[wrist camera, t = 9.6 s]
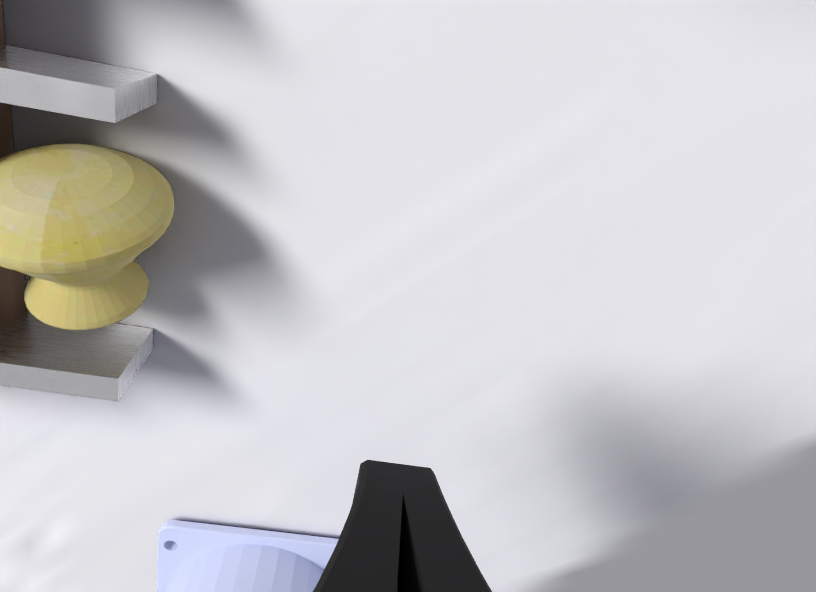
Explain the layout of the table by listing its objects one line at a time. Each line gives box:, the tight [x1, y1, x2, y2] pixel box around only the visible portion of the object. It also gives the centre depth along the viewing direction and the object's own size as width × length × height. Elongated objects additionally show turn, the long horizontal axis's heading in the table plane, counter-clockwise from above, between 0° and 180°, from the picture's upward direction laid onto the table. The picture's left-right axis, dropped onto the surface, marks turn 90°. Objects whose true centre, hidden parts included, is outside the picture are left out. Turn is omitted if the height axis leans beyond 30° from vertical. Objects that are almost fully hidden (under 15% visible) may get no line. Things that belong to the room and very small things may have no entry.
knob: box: [0, 143, 174, 330], centre depth 17 cm, size 5×5×5 cm
